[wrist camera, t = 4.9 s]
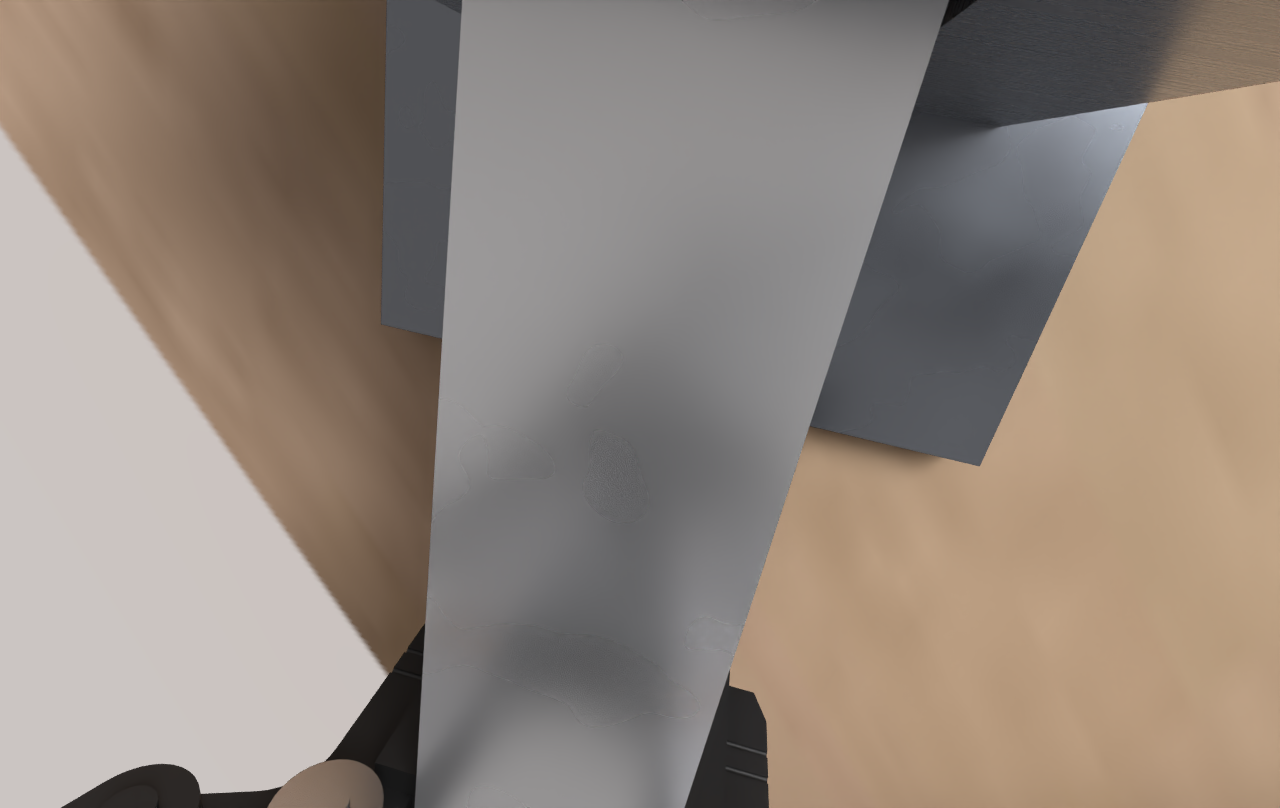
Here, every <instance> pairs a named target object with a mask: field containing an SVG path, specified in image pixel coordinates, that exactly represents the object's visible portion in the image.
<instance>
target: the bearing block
mask: <svg viewBox="0 0 1280 808" xmlns="http://www.w3.org/2000/svg"><path fill="white" fill-rule="evenodd" d="M461 14H462V0H387V17H386V74H385V132H384V189H383V246H382V303H381V324H382V325H387V326H391V327H395V328H399V329H403V330H408V331H412V332H416V333H420V334H424V335H429V336H433V337H437V338H441V339H442V335H443V318H444V302H445V285H446V268H447V251H448V234H449V217H450V200H451V183H452V166H453V149H454V132H455V115H456V99H457V82H458V65H459V48H460V31H461ZM1277 81H1280V0H949V2H948V5H947V8H946V11H945V14H944V17H943V20H942V23H941V26H940V29H939V32H938V35H937V38H936V41H935V44H934V47H933V50H932V53H931V57H930V60H929V63H928V66H927V69H926V72H925V75H924V78H923V81H922V84H921V87H920V90H919V93H918V96H917V99H916V102H915V105H914V108H913V111H912V115H911V118H910V121H909V124H908V127H907V130H906V133H905V136H904V139H903V142H902V145H901V148H900V151H899V154H898V157H897V160H896V163H895V166H894V169H893V173H892V176H891V179H890V182H889V185H888V188H887V191H886V194H885V197H884V200H883V203H882V206H881V209H880V212H879V215H878V218H877V221H876V224H875V228H874V231H873V234H872V237H871V240H870V243H869V246H868V249H867V252H866V255H865V258H864V261H863V264H862V267H861V270H860V273H859V276H858V279H857V282H856V286H855V289H854V292H853V295H852V298H851V301H850V304H849V307H848V310H847V313H846V316H845V319H844V322H843V325H842V328H841V331H840V334H839V337H838V340H837V344H836V347H835V350H834V353H833V356H832V359H831V362H830V365H829V368H828V371H827V374H826V377H825V380H824V383H823V386H822V389H821V392H820V395H819V398H818V402H817V405H816V408H815V411H814V414H813V417H812V420H811V423H810V426H812V427H816V428H820V429H824V430H829V431H833V432H837V433H841V434H846V435H850V436H854V437H858V438H862V439H867V440H871V441H875V442H879V443H883V444H888V445H892V446H896V447H900V448H904V449H909V450H913V451H917V452H921V453H926V454H930V455H934V456H938V457H942V458H947V459H951V460H955V461H959V462H963V463H968V464H972V465H976V466H980V465H981V462H982V460H983V458H984V456H985V454H986V452H987V449H988V447H989V445H990V443H991V441H992V439H993V437H994V434H995V432H996V430H997V428H998V426H999V424H1000V421H1001V419H1002V417H1003V415H1004V413H1005V411H1006V408H1007V406H1008V404H1009V402H1010V400H1011V398H1012V396H1013V393H1014V391H1015V389H1016V387H1017V385H1018V383H1019V380H1020V378H1021V376H1022V374H1023V372H1024V370H1025V367H1026V365H1027V363H1028V361H1029V359H1030V357H1031V355H1032V352H1033V350H1034V348H1035V346H1036V344H1037V342H1038V339H1039V337H1040V335H1041V333H1042V331H1043V329H1044V327H1045V324H1046V322H1047V320H1048V318H1049V316H1050V314H1051V311H1052V309H1053V307H1054V305H1055V303H1056V301H1057V298H1058V296H1059V294H1060V292H1061V290H1062V288H1063V286H1064V283H1065V281H1066V279H1067V277H1068V275H1069V273H1070V270H1071V268H1072V266H1073V264H1074V262H1075V260H1076V257H1077V255H1078V253H1079V251H1080V249H1081V247H1082V245H1083V242H1084V240H1085V238H1086V236H1087V234H1088V232H1089V229H1090V227H1091V225H1092V223H1093V221H1094V219H1095V217H1096V214H1097V212H1098V210H1099V208H1100V206H1101V204H1102V201H1103V199H1104V197H1105V195H1106V193H1107V191H1108V188H1109V186H1110V184H1111V182H1112V180H1113V178H1114V176H1115V173H1116V171H1117V169H1118V167H1119V165H1120V163H1121V160H1122V158H1123V156H1124V154H1125V152H1126V150H1127V147H1128V145H1129V143H1130V141H1131V139H1132V137H1133V135H1134V132H1135V130H1136V128H1137V126H1138V124H1139V122H1140V119H1141V117H1142V115H1143V113H1144V111H1145V109H1146V107H1147V104H1148V103H1149V102H1155V101H1161V100H1167V99H1174V98H1180V97H1186V96H1192V95H1198V94H1204V93H1210V92H1216V91H1222V90H1228V89H1235V88H1241V87H1247V86H1253V85H1259V84H1265V83H1271V82H1277Z"/></svg>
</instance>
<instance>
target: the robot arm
mask: <svg viewBox="0 0 1280 808" xmlns="http://www.w3.org/2000/svg"><path fill="white" fill-rule="evenodd" d="M424 640H425V624H424V626H423V627H422V628H421V630H420V631H419V633H418V634H417V636H416V637H415V638H414V640H413V641H412V643H411V644H410V645H409V647H408V650H407V652H406V653H405V652H404V654H403V655H402V657H401V658H400V659H399V661H398V662H397V664H396V665H395V666H394V669H393V672H392V673H391V672H390V674H389V675H388V676H387V678H386V679H385V681H384V682H383V683H382V685H381V686H380V688H379V689H378V691H377V692H376V694H375V695H374V696H373V697H372V699H371V701H370V702H369V703H368V705H367V706H366V708H365V709H364V710H363V712H362V713H361V714H360V716H359V717H358V719H357V720H356V721H355V723H354V724H353V726H352V727H351V728H350V730H349V731H348V733H347V734H346V736H345V737H344V739H343V740H342V741H341V743H340V744H339V745H338V747H337V748H336V750H335V751H334V752H333V753H332V754H331V756H330V757H329V758H328V759H327V760H326V761H325V762H322V763H319V764H316V765H313V766H311V767H309V768H307V769H305V770H303V771H302V772H300V773H298V774H297V775H296V776H294V777H293V778H292V779H290V780H289V781H288V782H287V783H286V784H285V785H284V786H282V787H279V788H275V789H270V790H265V791H254V792H233V793H212V794H200V789H199V784H198V782H197V780H196V778H195V776H194V775H193V774H191V773H190V772H189V771H188V770H186V769H184V768H182V767H179V766H175V765H170V764H155V765H148V766H142V767H139V768H136V769H132V770H129V771H126V772H124V773H122V774H119V775H117V776H115V777H113V778H111V779H109V780H107V781H106V782H104V783H102V784H100V785H99V786H97V787H96V788H94V789H92V790H90V791H89V792H87V793H85V794H83V795H82V796H80V797H78V798H77V799H75V800H73V801H72V802H70V803H68V804H67V805H65V806H63V807H62V808H415V792H416V775H417V758H418V741H419V724H420V707H421V691H422V674H423V657H424ZM729 677H730V670H729V673H728V676H727V679H726V682H725V686H724V689H723V692H722V695H721V698H720V701H719V704H718V707H717V710H716V713H715V716H714V719H713V722H712V725H711V728H710V731H709V734H708V737H707V740H706V744H705V747H704V750H703V753H702V756H701V759H700V762H699V765H698V768H697V771H696V774H695V777H694V780H693V783H692V786H691V789H690V792H689V795H688V798H687V802H686V805H685V808H769V800H768V784H767V779H768V763H767V758H766V755H767V727H766V720H765V718H764V715H763V713H762V711H761V708H760V706H759V704H758V702H757V699H756V697H755V695H754V693H753V692H749V691H745V690H742V689H738V688H735V687H731V686H729Z"/></svg>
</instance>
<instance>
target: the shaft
mask: <svg viewBox="0 0 1280 808" xmlns="http://www.w3.org/2000/svg"><path fill="white" fill-rule="evenodd" d="M948 2H949V0H462V14H461V31H460V48H459V65H458V82H457V99H456V115H455V132H454V149H453V166H452V183H451V200H450V217H449V234H448V251H447V268H446V285H445V302H444V318H443V335H442V352H441V369H440V386H439V403H438V420H437V437H436V454H435V471H434V488H433V504H432V521H431V538H430V555H429V572H428V589H427V606H426V623H425V640H424V657H423V674H422V691H421V707H420V724H419V741H418V758H417V775H416V792H415V808H685V805H686V802H687V798H688V795H689V792H690V789H691V786H692V783H693V780H694V777H695V774H696V771H697V768H698V765H699V762H700V759H701V756H702V753H703V750H704V747H705V744H706V740H707V737H708V734H709V731H710V728H711V725H712V722H713V719H714V716H715V713H716V710H717V707H718V704H719V701H720V698H721V695H722V692H723V689H724V686H725V682H726V679H727V676H728V673H729V670H730V667H731V664H732V661H733V658H734V655H735V652H736V649H737V646H738V643H739V640H740V637H741V634H742V631H743V628H744V624H745V621H746V618H747V615H748V612H749V609H750V606H751V603H752V600H753V597H754V594H755V591H756V588H757V585H758V582H759V579H760V576H761V573H762V569H763V566H764V563H765V560H766V557H767V554H768V551H769V548H770V545H771V542H772V539H773V536H774V533H775V530H776V527H777V524H778V521H779V518H780V515H781V511H782V508H783V505H784V502H785V499H786V496H787V493H788V490H789V487H790V484H791V481H792V478H793V475H794V472H795V469H796V466H797V463H798V460H799V457H800V453H801V450H802V447H803V444H804V441H805V438H806V435H807V432H808V429H809V426H810V423H811V420H812V417H813V414H814V411H815V408H816V405H817V402H818V398H819V395H820V392H821V389H822V386H823V383H824V380H825V377H826V374H827V371H828V368H829V365H830V362H831V359H832V356H833V353H834V350H835V347H836V344H837V340H838V337H839V334H840V331H841V328H842V325H843V322H844V319H845V316H846V313H847V310H848V307H849V304H850V301H851V298H852V295H853V292H854V289H855V286H856V282H857V279H858V276H859V273H860V270H861V267H862V264H863V261H864V258H865V255H866V252H867V249H868V246H869V243H870V240H871V237H872V234H873V231H874V228H875V224H876V221H877V218H878V215H879V212H880V209H881V206H882V203H883V200H884V197H885V194H886V191H887V188H888V185H889V182H890V179H891V176H892V173H893V169H894V166H895V163H896V160H897V157H898V154H899V151H900V148H901V145H902V142H903V139H904V136H905V133H906V130H907V127H908V124H909V121H910V118H911V115H912V111H913V108H914V105H915V102H916V99H917V96H918V93H919V90H920V87H921V84H922V81H923V78H924V75H925V72H926V69H927V66H928V63H929V60H930V57H931V53H932V50H933V47H934V44H935V41H936V38H937V35H938V32H939V29H940V26H941V23H942V20H943V17H944V14H945V11H946V8H947V5H948Z"/></svg>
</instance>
